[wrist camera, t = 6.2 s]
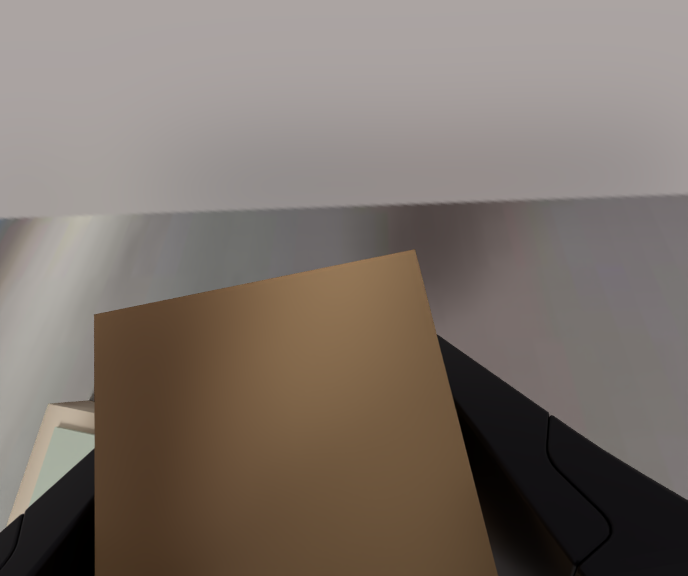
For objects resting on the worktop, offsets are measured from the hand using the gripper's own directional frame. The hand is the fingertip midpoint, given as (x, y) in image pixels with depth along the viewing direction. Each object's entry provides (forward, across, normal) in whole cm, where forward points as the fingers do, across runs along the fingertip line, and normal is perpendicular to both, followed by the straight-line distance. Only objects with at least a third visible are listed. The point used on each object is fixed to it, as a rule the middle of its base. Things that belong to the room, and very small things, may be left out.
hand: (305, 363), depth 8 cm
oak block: (+4, 0, +6) cm, 7 cm away
